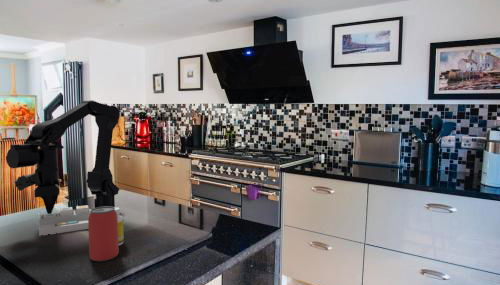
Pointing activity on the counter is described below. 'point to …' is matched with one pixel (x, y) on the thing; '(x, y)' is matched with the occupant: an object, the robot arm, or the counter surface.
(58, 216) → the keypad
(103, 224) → the beer can
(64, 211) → the key mid
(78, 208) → the key
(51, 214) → the key
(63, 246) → the counter surface
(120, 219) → the supplement bottle
